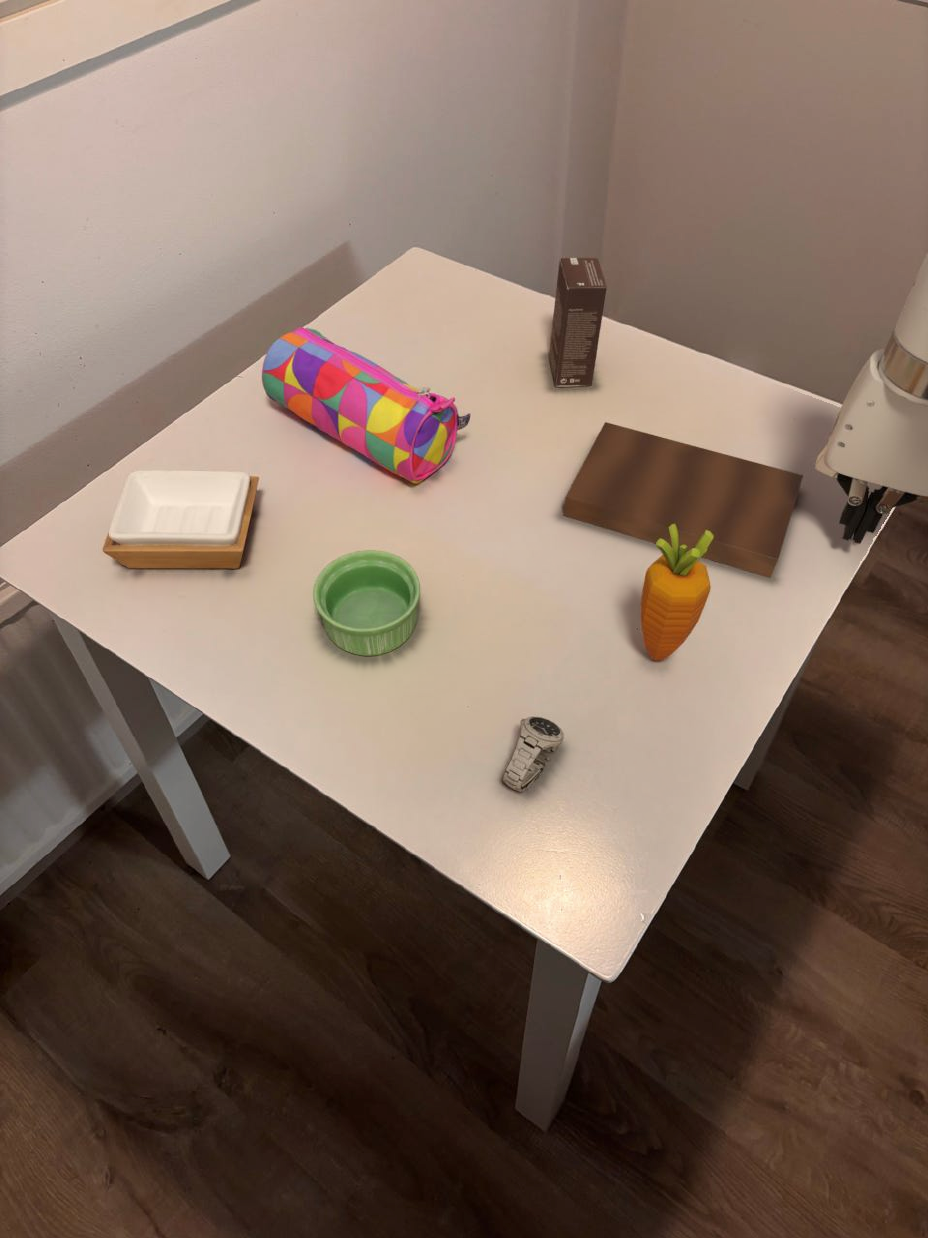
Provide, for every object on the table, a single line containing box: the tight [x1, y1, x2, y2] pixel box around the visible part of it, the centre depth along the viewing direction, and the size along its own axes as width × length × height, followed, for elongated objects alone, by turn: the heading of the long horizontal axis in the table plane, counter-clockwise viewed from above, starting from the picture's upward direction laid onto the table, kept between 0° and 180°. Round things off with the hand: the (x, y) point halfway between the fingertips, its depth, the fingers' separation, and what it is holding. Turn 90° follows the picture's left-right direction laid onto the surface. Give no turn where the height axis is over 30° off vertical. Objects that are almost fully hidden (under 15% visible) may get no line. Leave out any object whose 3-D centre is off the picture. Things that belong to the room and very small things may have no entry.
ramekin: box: [312, 549, 421, 657], centre depth 77 cm, size 9×9×4 cm
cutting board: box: [563, 421, 804, 579], centre depth 86 cm, size 20×12×2 cm, turn 66°
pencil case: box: [261, 326, 471, 484], centre depth 91 cm, size 22×9×9 cm, turn 53°
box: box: [548, 257, 608, 388], centre depth 96 cm, size 6×4×12 cm
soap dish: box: [102, 469, 260, 570], centre depth 83 cm, size 12×10×5 cm
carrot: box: [640, 524, 714, 661], centre depth 70 cm, size 5×5×15 cm
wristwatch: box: [502, 716, 565, 793], centre depth 67 cm, size 4×6×5 cm, turn 145°
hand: (853, 530), depth 81 cm, fingers closed
